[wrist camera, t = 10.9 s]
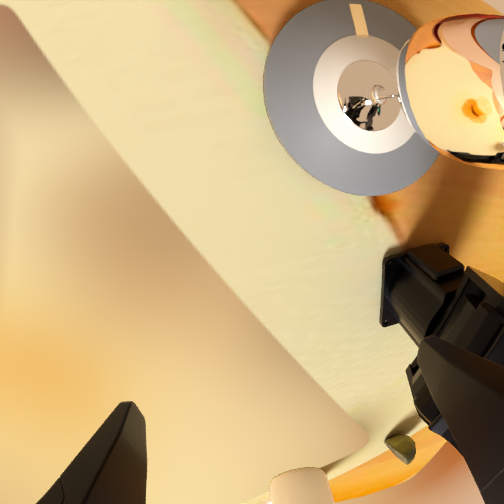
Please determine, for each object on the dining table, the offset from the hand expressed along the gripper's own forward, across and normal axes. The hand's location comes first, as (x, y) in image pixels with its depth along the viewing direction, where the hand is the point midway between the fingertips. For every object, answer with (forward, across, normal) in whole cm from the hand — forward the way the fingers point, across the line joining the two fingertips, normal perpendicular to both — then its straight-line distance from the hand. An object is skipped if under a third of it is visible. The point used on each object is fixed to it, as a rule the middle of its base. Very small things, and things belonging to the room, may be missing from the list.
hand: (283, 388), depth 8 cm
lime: (+13, -15, +33) cm, 39 cm away
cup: (+13, +1, +38) cm, 40 cm away
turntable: (+13, -9, -8) cm, 18 cm away
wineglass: (+11, -9, -8) cm, 16 cm away
